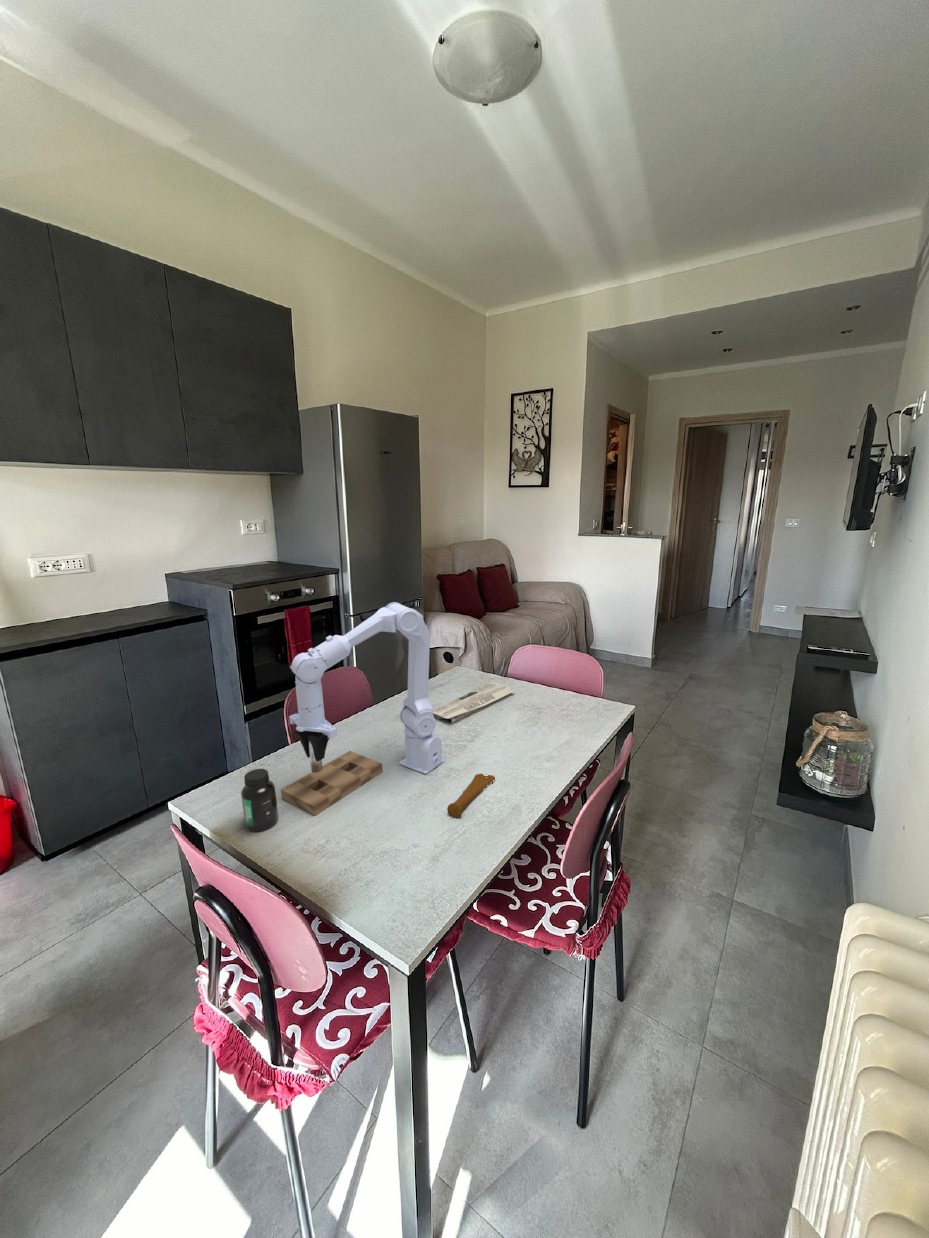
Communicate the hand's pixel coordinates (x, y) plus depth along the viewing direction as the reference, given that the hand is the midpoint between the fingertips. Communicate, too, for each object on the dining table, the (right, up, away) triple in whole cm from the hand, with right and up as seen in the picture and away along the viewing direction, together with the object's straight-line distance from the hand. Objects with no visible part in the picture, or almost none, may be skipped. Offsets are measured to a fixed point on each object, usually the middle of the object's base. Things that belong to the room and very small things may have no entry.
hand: (315, 757), depth 117 cm
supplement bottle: (-10, -12, -8) cm, 18 cm away
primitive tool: (+37, -10, +2) cm, 38 cm away
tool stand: (+3, -9, +6) cm, 11 cm away
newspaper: (+39, +3, +53) cm, 66 cm away
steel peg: (0, -3, +1) cm, 3 cm away
